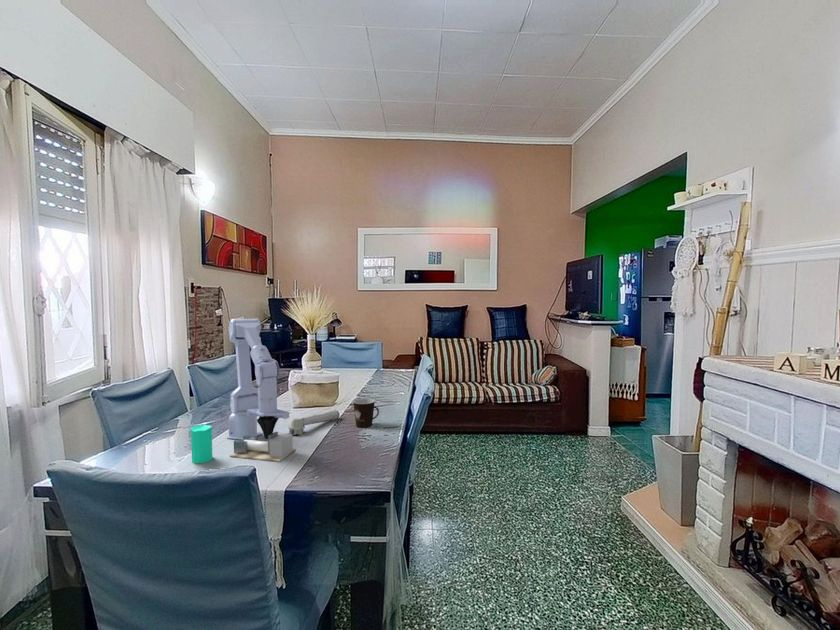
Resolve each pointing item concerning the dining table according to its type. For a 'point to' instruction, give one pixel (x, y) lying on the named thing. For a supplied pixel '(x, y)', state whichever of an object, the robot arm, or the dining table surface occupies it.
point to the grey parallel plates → (243, 444)
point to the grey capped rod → (311, 421)
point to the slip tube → (261, 444)
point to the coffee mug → (364, 412)
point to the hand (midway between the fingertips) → (268, 438)
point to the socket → (281, 445)
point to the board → (258, 456)
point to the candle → (201, 443)
